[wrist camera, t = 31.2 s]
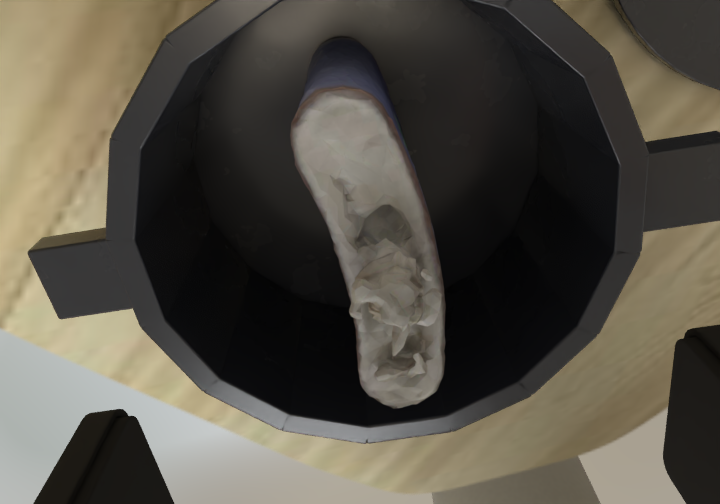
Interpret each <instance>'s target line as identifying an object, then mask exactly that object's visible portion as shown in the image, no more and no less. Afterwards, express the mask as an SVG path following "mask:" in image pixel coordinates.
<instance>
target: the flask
mask: <svg viewBox="0 0 720 504" xmlns="http://www.w3.org/2000/svg"><path fill="white" fill-rule="evenodd" d="M290 138H291V146H292V149H293V153H294V158H295V166H296V168H297V170H298V171H299V173H300V175H301V177H302V180H303V182H304V184H305V185H306V187H307V188H308V190H309V191H310V193H311V195H312V197H313V199H314V201H315V202H316V204H317V206H318V208H319V210H320V212H321V214H322V216H323V218H324V220H325V222H326V224H327V227H328V229H329V232H330V235H331V238H332V240H333V244H334V251H335V253H336V255H337V257H338V259H339V264H340V267H341V270H342V273H343V277H344V280H345V283H346V288H347V291H348V295H349V298H350V301H351V306H350V309H349V313H350V315H351V317H353V318H354V324H355V329H356V341H357V344H356V349H357V361H358V372H359V378H360V384H361V386H362V388H363V389H364V390H365V392H366V393H367V394H368V395H369V397H373V398H375V399H376V400H377V401H379V402H380V403H382V404H384V405H387V406H390V407H392V408H393V409H395V408H402V407H405V406H409V405H412V404H418V403H420V402H422V401H423V400H425V399H426V398H428V397H429V396H431V395H432V394H434V393H435V392H436V391H437V390H438V387H439V385H440V382H441V380H442V377H443V375H444V366H445V353H444V349H445V308H446V303H445V296H444V285H443V278H442V271H441V265H440V260H439V255H438V250H437V245H436V240H435V235H434V230H433V226H432V223H431V219H430V215H429V212H428V208H427V205H426V201H425V198H424V195H423V192H422V189H421V186H420V183H419V180H418V178H417V174H416V170H415V166H414V164H413V162H412V160H411V158H410V155H409V152H408V149H407V145H406V142H405V140H404V136H403V132H402V129H401V124H400V121H399V119H398V116H397V113H396V111H395V108H394V106H393V103H392V100H391V96H390V94H389V91H388V88H387V84H386V82H385V80H384V78H383V76H382V73H381V70H380V69H379V67H378V64H377V61H376V60H375V58H374V57H373V55H372V54H371V53H370V52H369V51H368V50H367V49H366V48H365V47H364V46H363V45H362V44H360V43H359V42H357V41H356V40H354V39H352V38H346V37H340V38H334V39H330V40H328V41H326V42H324V43H322V44H321V45H319V47H318V48H317V50H316V51H315V53H314V54H313V56H312V58H311V61H310V63H309V68H308V76H307V82H306V84H305V88H304V95H303V97H302V99H301V101H300V104H299V107H298V111H297V112H296V115H295V117H294V119H293V121H292V123H291V132H290Z"/></svg>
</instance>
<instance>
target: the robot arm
mask: <svg viewBox="0 0 720 504" xmlns="http://www.w3.org/2000/svg"><path fill="white" fill-rule="evenodd" d="M663 460H664V464H665V468H666V471H667V473H668V475H669V477H670V479H671V480H672V482H673V483H674V485H675V487H676V488H677V490H678V491H679V493H680V494H681V496H682V497H683V499H684V501H685V502H686V504H720V325H714V326H707V327H700V328H692V329H689V330H687V332H686V333H685V336H684V339H679V340H678V341H677V342H676V345H675V352H674V361H673V370H672V379H671V388H670V397H669V406H668V415H667V424H666V432H665V442H664V451H663ZM34 504H174V502H173V500H172V497H171V495H170V493H169V490H168V488H167V486H166V483H165V481H164V479H163V477H162V474H161V472H160V470H159V467H158V465H157V463H156V461H155V458H154V456H153V454H152V451H151V449H150V447H149V444H148V442H147V440H146V438H145V435H144V433H143V431H142V428H141V426H140V424H139V422H138V420H137V418H136V417H134V416H128V414H127V413H126V412H125V411H124V410H123V409H117V410H109V411H102V412H95V413H89V414H88V415H86V416H85V417H84V418H83V420H82V421H81V423H80V425H79V426H78V428H77V430H76V431H75V433H74V435H73V437H72V438H71V440H70V442H69V444H68V445H67V447H66V449H65V451H64V452H63V454H62V456H61V457H60V459H59V461H58V462H57V464H56V466H55V467H54V469H53V471H52V473H51V474H50V476H49V478H48V480H47V481H46V483H45V485H44V486H43V488H42V490H41V492H40V493H39V495H38V497H37V498H36V500H35V502H34Z"/></svg>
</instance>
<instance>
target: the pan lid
mask: <svg viewBox="0 0 720 504" xmlns="http://www.w3.org/2000/svg"><path fill="white" fill-rule="evenodd" d="M613 1H614V3H615V5H616V7H617V10H618V11H619V13H620V14H621V16H622V17H623V19H624V20H625V22H626V24H627V25H628V27H629V28H630V30H631V31H632V33H633V34H634V35H635V36H636V37H637V38H638V40H639V41H640V42H641V43H642V44H643V45H644V46H645V47H646V48H647V49H648V51H649V52H650V53H651V54H653V55H654V56H655V57H657V58H658V59H659V60H660V61H662V62H663V63H664V64H665V65H667V66H668V67H669V68H670V69H672V70H674V71H676V72H678V73H680V74H681V75H683V76H685V77H687V78H689V79H690V80H692V81H695V82H698V83H701V84H703V85H706V86H709V87H712V88H715V89H718V90H720V0H613Z"/></svg>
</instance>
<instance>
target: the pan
mask: <svg viewBox="0 0 720 504" xmlns="http://www.w3.org/2000/svg"><path fill="white" fill-rule="evenodd" d="M340 37H346V38H352V39H354V40H356V41H357V42H359V43H360V44H362V45H363V46H364V47H365V48H366V49H367V50H368V51H369V52H370V53H371V54H372V55H373V57H374V58H375V60H376V61H377V64H378V67H379V69H380V70H381V73H382V76H383V78H384V80H385V82H386V84H387V88H388V91H389V94H390V96H391V100H392V103H393V106H394V108H395V111H396V113H397V116H398V119H399V121H400V124H401V129H402V132H403V136H404V140H405V142H406V145H407V149H408V152H409V155H410V158H411V160H412V162H413V164H414V166H415V170H416V174H417V178H418V180H419V183H420V186H421V189H422V192H423V195H424V198H425V201H426V205H427V208H428V212H429V215H430V219H431V223H432V226H433V230H434V235H435V240H436V245H437V250H438V255H439V260H440V265H441V271H442V278H443V285H444V296H445V303H446V308H445V349H444V353H445V366H444V375H443V377H442V380H441V382H440V385H439V387H438V390H437V391H436V392H435V393H434V394H432V395H431V396H429V397H428V398H426V399H425V400H423V401H422V402H420V403H418V404H412V405H409V406H405V407H402V408H395V409H393V408H392V407H390V406H387V405H384V404H382V403H380V402H379V401H377V400H376V399H375V398H373V397H369V395H368V394H367V393H366V392H365V390H364V389H363V388H362V386H361V384H360V378H359V372H358V361H357V349H356V344H357V341H356V329H355V324H354V318H353V317H351V315H350V313H349V309H350V306H351V301H350V298H349V295H348V291H347V288H346V283H345V280H344V277H343V273H342V270H341V267H340V264H339V259H338V257H337V255H336V253H335V251H334V244H333V240H332V238H331V235H330V232H329V229H328V227H327V224H326V222H325V220H324V218H323V216H322V214H321V212H320V210H319V208H318V206H317V204H316V202H315V201H314V199H313V197H312V195H311V193H310V191H309V190H308V188H307V187H306V185H305V184H304V182H303V180H302V177H301V175H300V173H299V171H298V170H297V168H296V166H295V158H294V153H293V149H292V146H291V138H290V132H291V123H292V121H293V119H294V117H295V115H296V112H297V111H298V107H299V104H300V101H301V99H302V97H303V95H304V88H305V84H306V82H307V76H308V68H309V63H310V61H311V58H312V56H313V54H314V53H315V51H316V50H317V48H318V47H319V45H321V44H322V43H324V42H326V41H328V40H330V39H334V38H340ZM713 221H720V132H718V131H712V132H706V133H699V134H693V135H687V136H680V137H674V138H668V139H661V140H655V141H648V142H645V141H644V138H643V136H642V133H641V131H640V128H639V125H638V123H637V120H636V117H635V115H634V112H633V110H632V107H631V104H630V102H629V99H628V97H627V94H626V91H625V89H624V86H623V83H622V81H621V78H620V76H619V73H618V70H617V68H616V65H615V63H614V60H613V57H612V56H611V55H610V53H609V52H608V51H607V50H606V49H605V48H604V47H603V46H602V45H600V44H599V43H598V42H597V41H596V40H595V39H594V38H593V37H592V36H591V35H589V34H588V33H587V32H586V31H585V30H584V29H583V28H582V27H581V26H579V25H578V24H577V23H576V22H575V21H574V20H573V19H572V18H571V17H570V16H568V15H567V14H566V13H565V12H564V11H563V10H562V9H561V8H560V7H558V6H557V5H556V4H555V3H554V2H553V1H552V0H215V1H213V2H212V3H210V4H209V5H208V6H206V7H205V8H203V9H202V10H201V11H199V12H198V13H196V14H195V15H194V16H192V17H191V18H189V19H188V20H187V21H185V22H184V23H182V24H181V25H180V26H178V27H177V28H175V29H174V30H173V31H171V32H170V33H168V34H167V35H166V38H164V39H163V40H162V42H161V44H160V46H159V48H158V49H157V51H156V53H155V55H154V57H153V59H152V60H151V62H150V64H149V66H148V68H147V70H146V71H145V73H144V75H143V77H142V79H141V81H140V82H139V84H138V86H137V88H136V90H135V92H134V94H133V95H132V97H131V99H130V101H129V103H128V105H127V106H126V108H125V110H124V112H123V114H122V116H121V117H120V119H119V121H118V123H117V125H116V127H115V129H114V130H113V132H112V134H111V138H110V144H109V167H108V189H107V212H106V228H101V229H94V230H88V231H82V232H75V233H69V234H63V235H56V236H50V237H44V238H42V239H40V240H39V241H38V242H37V243H36V244H35V245H34V246H33V247H32V248H31V249H30V250H29V251H28V256H29V258H30V260H31V262H32V264H33V266H34V268H35V270H36V272H37V274H38V276H39V278H40V280H41V283H42V285H43V287H44V289H45V291H46V293H47V295H48V297H49V299H50V301H51V303H52V305H53V307H54V310H55V312H56V314H57V316H58V318H59V319H66V318H73V317H79V316H86V315H92V314H99V313H106V312H112V311H119V310H126V309H132V308H133V310H134V312H135V315H136V317H137V320H138V322H139V325H140V327H142V329H143V330H144V331H145V332H146V334H147V335H148V336H149V337H150V338H151V339H152V340H153V341H154V342H155V343H156V344H157V345H158V346H159V347H160V348H161V349H162V350H163V351H164V352H165V353H166V354H167V355H168V356H169V357H170V358H171V359H172V360H173V361H174V362H175V363H176V364H177V365H178V367H179V368H180V369H181V370H182V371H183V372H184V373H185V374H186V375H187V376H188V377H189V378H190V379H191V380H192V381H193V382H194V383H195V384H196V385H197V386H198V387H199V388H200V389H201V390H202V391H204V392H205V393H206V394H208V395H210V396H212V397H214V398H216V399H218V400H220V401H222V402H224V403H226V404H228V405H230V406H232V407H234V408H236V409H238V410H240V411H242V412H245V413H247V414H249V415H251V416H253V417H255V418H257V419H259V420H261V421H263V422H265V423H267V424H269V425H271V426H273V427H275V428H277V429H279V430H282V431H286V432H293V433H299V434H305V435H312V436H318V437H325V438H331V439H338V440H344V441H350V442H357V443H363V444H366V443H376V442H383V441H390V440H397V439H405V438H412V437H419V436H426V435H434V434H441V433H448V432H451V431H456V430H458V429H461V428H463V427H465V426H467V425H469V424H471V423H474V422H476V421H478V420H480V419H482V418H485V417H487V416H489V415H491V414H493V413H496V412H498V411H500V410H502V409H504V408H506V407H509V406H511V405H513V404H515V403H517V402H520V401H522V400H524V399H526V398H528V397H530V396H531V394H534V393H535V392H536V391H538V390H539V389H540V388H541V387H542V386H543V385H544V384H545V383H546V382H547V381H548V380H550V379H551V378H552V377H553V376H554V375H555V374H556V373H557V372H558V371H559V370H561V369H562V368H563V367H564V366H565V365H566V364H567V363H568V362H569V361H570V360H571V359H573V358H574V357H575V356H576V355H577V354H578V353H579V352H580V351H581V350H582V349H583V348H585V347H586V346H587V345H588V344H589V343H590V342H591V341H592V340H593V339H594V338H596V336H597V334H599V333H600V331H601V329H602V327H603V325H604V323H605V321H606V319H607V318H608V316H609V314H610V312H611V310H612V308H613V306H614V304H615V302H616V300H617V298H618V297H619V295H620V293H621V291H622V289H623V287H624V285H625V283H626V281H627V279H628V277H629V275H630V274H631V272H632V270H633V268H634V266H635V264H636V262H637V260H638V258H639V256H640V252H641V251H642V239H643V232H647V231H654V230H660V229H667V228H673V227H680V226H687V225H693V224H700V223H707V222H713Z"/></svg>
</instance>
